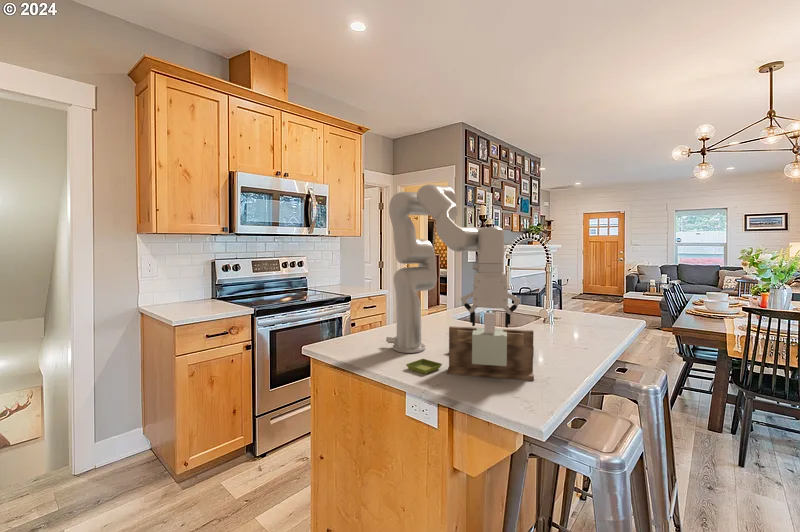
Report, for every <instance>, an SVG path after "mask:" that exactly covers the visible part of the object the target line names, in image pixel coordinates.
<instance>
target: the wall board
mask: <svg viewBox="0 0 800 532" xmlns="http://www.w3.org/2000/svg"><path fill="white" fill-rule="evenodd" d="M477 328H478V327H475V326H472V327H470V326H451V325H450V326H449V327H448V368H447V373H446V374H447V375H456V374H458V375H460V376H473V377H484V378H497V379H498V378H499V379H511V380H512V379H513V380H523V381H524V380H525V381H534V380H535V377H534V376H535V375H534V369H533V368H534V355H533V346H534V330H533V329H532V330H531V329H529V330H528V329H512V328H511V329H510V328H502V329H503V332H507V366H495V365H481V364H472V333H473V330H477Z"/></svg>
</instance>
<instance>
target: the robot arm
mask: <svg viewBox="0 0 800 532" xmlns="http://www.w3.org/2000/svg"><path fill="white" fill-rule="evenodd" d="M456 201H457V196H456V192H455V191H454V189H453V188H452V187H450V186H447V185H440V184H424V185H422V186H421V187H420V188H419V189H418V190H417V192H415V191H400V192H396V193H395V194H394V195H392V196H391V198H390V201H389V206H388V214H389V219H390V223H391V226H392V232H393V243H394V252H395V259H396V261H397V262H398V263H399V264H402V265H410V264H411V265H412V264H413V265H415V264H417V265H418V266H412V267H411V266H410V267H409V266H408V267H403V268H402V267H401V268H399V269H397V270H396V271H395V272H394V275H393V285H394V290H395V299H396V301H395V302H396V304H395V305H396V309H395V310H396V336H394V337H391V336H386V340H385V341H386V343H388V344H393V345H392V350H393V351H395V352H398V353H402V354H416V353H420V352H423V351H425V349H426V345H425V344H424V343H422V303H421V300H420V298H419V296H418V294H417V292H425V291H431V290H433V289H434V288H435V287H436V285H437V282H438V276H437V275H438V274H437V263H436V261H437V260H436V253H435V252H436V251H435V247H434V245H433V244H432V243H431V241H430V240H428V239H424V238H423V239H422V238H421V239H420V238H417V235H416V227H415V225H414V222H413V220H412V219H411V218H410V217H409V216H410V215H411V216H430V217H431V218H432V219H433V220H434V221H435V231H436V234H437V236H438V238H439V240H441V242H442V243H444V245H445V247H447V248H448V249H450V250H452V251H454V252H458V253H460V252H461V253H462V252H464V253H465V252H471V253H473V252H477V264H473V265H472V270H475V271H476V272H477V273H476V272H475V274H474V279H473V284H472V285H473V288H472V292H469V293H468V294H465V295H463V296H461V298H460V300H461V303H462V304H463V307H464V308H465V309H466V310H467V311H468V312H469V323H471V325H472V327H475V326H476V311H475V310H476V309H477V308H480V309H481V308H483V309H485V308H487V309H503V310H504V311H505V313H504V314H505V315H504V317H505V318H504V321H505V322H504V327H505V329H509V325H511V314H512V313H513V312H514V311H516V310H517V308H518V307H519V305H520V303H521V299H520V298H519V297H517V296H515V295H514V294H512V293H510V292H509V287H508V286H509V285H508V278H507V273H504V267H505V266H504V265H505V264H504V261H505V259H504V257H505V254H504V253H505V232H504V229H503V228H501V227H497V226H495V227H494V226H493V227H489V226H488V227H477V226H476V227H475V226H458V225H457V224H456V223H455V222H454V221H455V220H456V218H457V216H458V213H459V209H458V206H457V205H456ZM471 298H472V305H470V303H469V302H468V300H469V299H471ZM509 299H510V300H512V301H513V304H512V305H511V306H510V307H509V306H508V305H509Z"/></svg>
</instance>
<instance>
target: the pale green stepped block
mask: <svg viewBox="0 0 800 532" xmlns="http://www.w3.org/2000/svg"><path fill="white" fill-rule="evenodd" d="M483 324H484V327H476V328H477V330H473V333H472V364H481V365H495V366H507V332H503V329H504V328H496V312H484V323H483Z"/></svg>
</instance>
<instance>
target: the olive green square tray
mask: <svg viewBox="0 0 800 532" xmlns="http://www.w3.org/2000/svg"><path fill="white" fill-rule="evenodd" d="M442 365H443V363H442V362H441V363H440V362H436V361H433V360H429V359H425V358H421V359H417V360H415V361H411V362H409V363H406V364H405V366H406V367H407V368H408V369H409V370H410V369H411V370H410V371H413V370H414V371H413V372H418V373H421V374H423V373H424V375H426V374H429V372H430V373H432V372H434V371H436V370H438V369H440V368H441V366H442Z"/></svg>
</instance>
